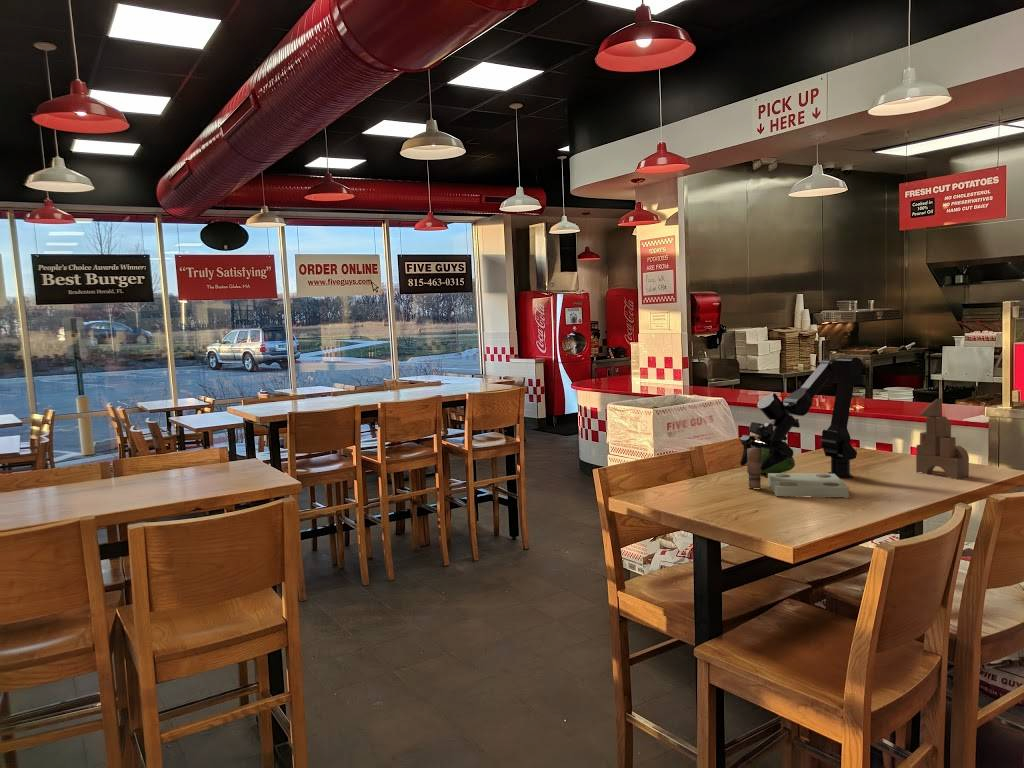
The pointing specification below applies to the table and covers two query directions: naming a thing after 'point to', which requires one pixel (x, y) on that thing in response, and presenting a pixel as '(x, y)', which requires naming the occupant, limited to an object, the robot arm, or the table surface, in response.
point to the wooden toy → (940, 445)
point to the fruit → (778, 467)
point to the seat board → (807, 485)
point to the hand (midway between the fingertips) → (751, 467)
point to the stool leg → (754, 467)
